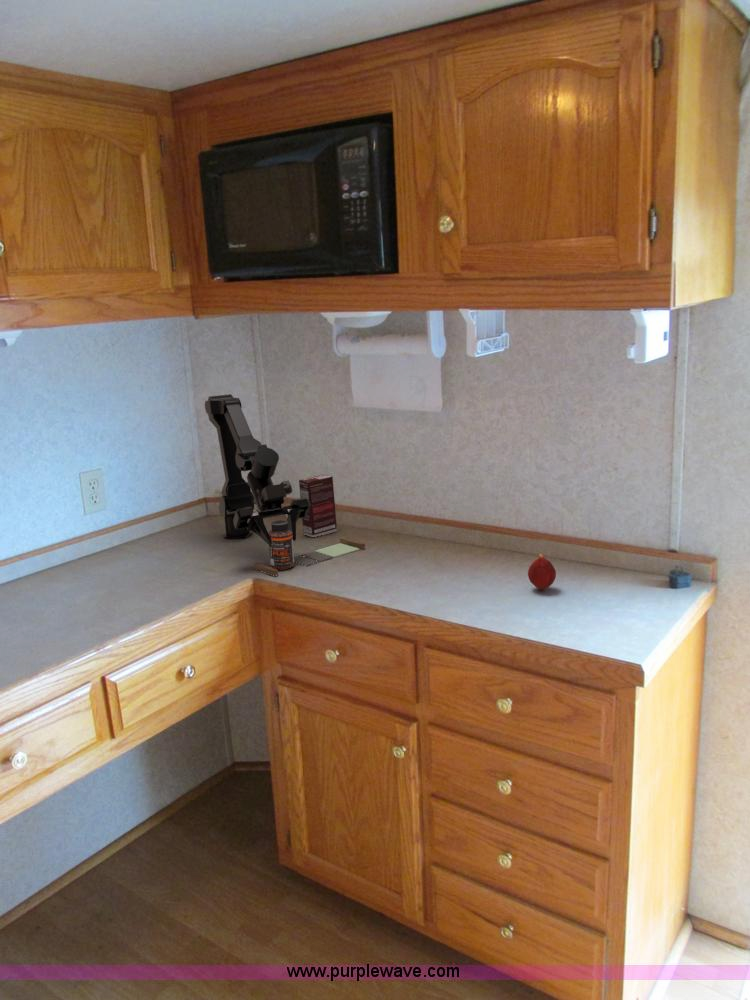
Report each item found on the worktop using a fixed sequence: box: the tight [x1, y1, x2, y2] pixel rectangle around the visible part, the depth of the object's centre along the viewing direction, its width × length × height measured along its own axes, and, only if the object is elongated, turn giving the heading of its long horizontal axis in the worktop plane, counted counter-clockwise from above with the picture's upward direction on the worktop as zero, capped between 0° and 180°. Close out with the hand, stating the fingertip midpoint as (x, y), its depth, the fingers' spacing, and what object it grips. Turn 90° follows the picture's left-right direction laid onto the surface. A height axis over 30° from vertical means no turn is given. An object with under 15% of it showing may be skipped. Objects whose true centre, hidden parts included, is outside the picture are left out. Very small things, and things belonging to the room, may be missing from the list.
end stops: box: [252, 536, 366, 576], centre depth 207 cm, size 28×9×2 cm, turn 131°
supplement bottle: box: [268, 519, 296, 570], centre depth 201 cm, size 6×6×11 cm
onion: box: [527, 553, 557, 591], centre depth 176 cm, size 6×6×8 cm
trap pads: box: [294, 551, 333, 567], centre depth 207 cm, size 8×8×1 cm
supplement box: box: [298, 474, 338, 538], centre depth 228 cm, size 9×5×16 cm, turn 130°
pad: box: [314, 542, 361, 559], centre depth 213 cm, size 9×8×1 cm
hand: (282, 542), depth 200 cm, fingers closed on supplement bottle, 6 cm apart
